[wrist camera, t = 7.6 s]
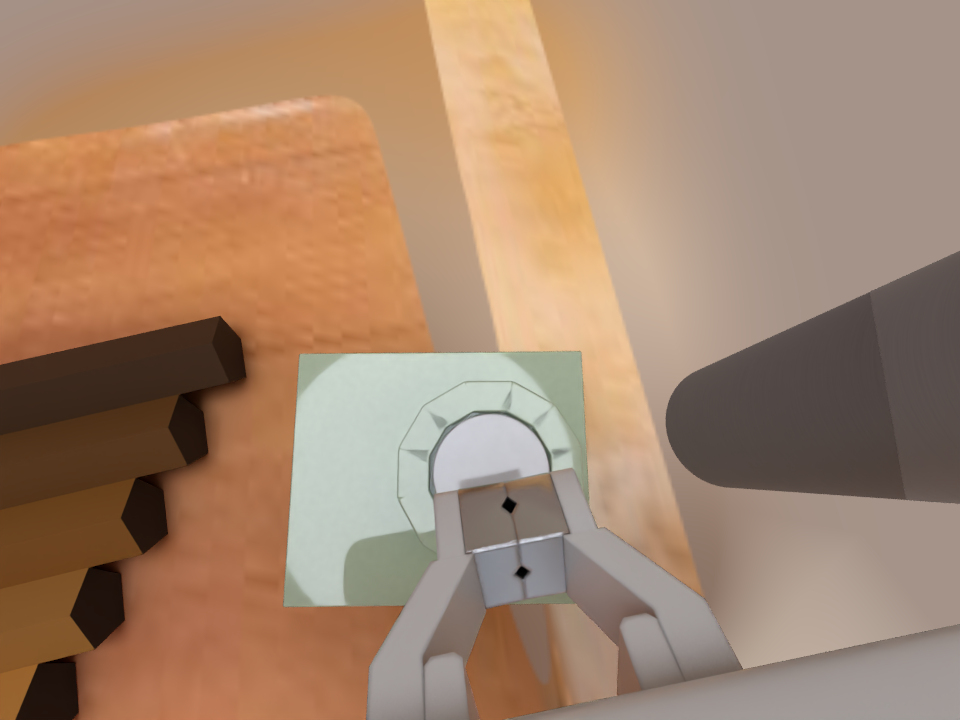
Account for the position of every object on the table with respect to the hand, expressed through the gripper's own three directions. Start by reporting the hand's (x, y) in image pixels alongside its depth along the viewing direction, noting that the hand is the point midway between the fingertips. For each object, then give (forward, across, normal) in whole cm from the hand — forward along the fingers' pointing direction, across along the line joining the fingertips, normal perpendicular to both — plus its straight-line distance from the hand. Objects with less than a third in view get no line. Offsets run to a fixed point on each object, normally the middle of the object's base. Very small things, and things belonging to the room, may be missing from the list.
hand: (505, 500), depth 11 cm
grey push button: (+6, 0, +6) cm, 9 cm away
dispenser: (+12, +2, +11) cm, 16 cm away
